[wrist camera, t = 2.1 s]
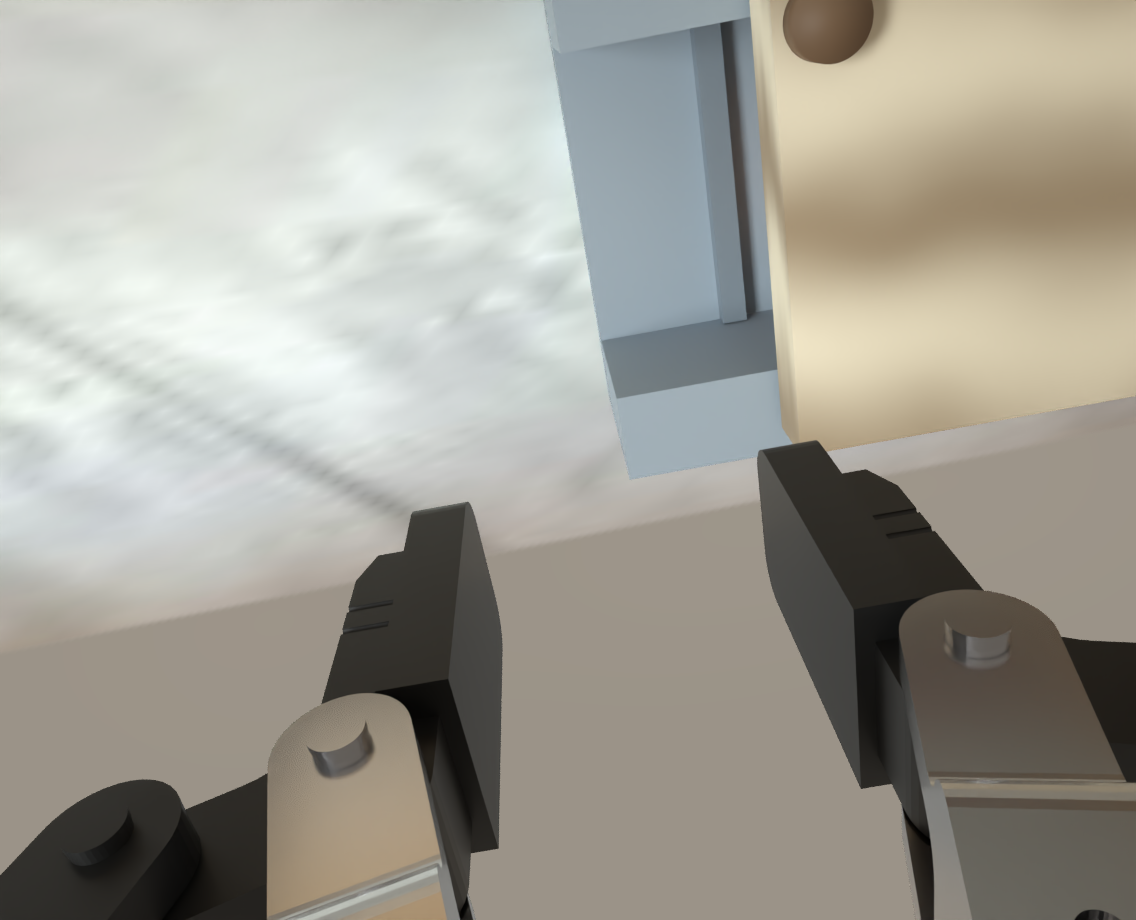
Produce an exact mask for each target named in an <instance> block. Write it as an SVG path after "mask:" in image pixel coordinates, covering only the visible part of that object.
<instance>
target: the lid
mask: <svg viewBox="0 0 1136 920" xmlns="http://www.w3.org/2000/svg"><path fill="white" fill-rule="evenodd" d="M749 3H750V16H751V29H752V43H753V56H754V69H755V82H756V95H757V108H758V121H759V134H760V147H761V160H762V173H763V186H764V199H765V212H766V225H767V238H768V251H769V265H770V278H771V291H772V304H773V317H774V330H775V343H776V356H777V369H778V382H779V395H780V408H781V421H782V428H783V430H784V431H785V433H786V434H787V436H788V437H789V439H790V440H791V442H792V443H793V444H796V443H802V442H807V441H813V440H817V441H818V442H819V443H820V444H821V445H822V447H823V448H824V449H825V451H832V450H837V449H843V448H848V447H854V446H860V445H865V444H871V443H876V442H882V441H888V440H893V439H899V438H904V437H910V436H915V435H921V434H927V433H932V432H938V431H943V430H949V429H955V428H960V427H966V426H971V425H977V424H982V423H988V422H994V421H999V420H1005V419H1010V418H1016V417H1021V416H1027V415H1033V414H1038V413H1044V412H1049V411H1055V410H1061V409H1066V408H1072V407H1077V406H1083V405H1088V404H1094V403H1100V402H1105V401H1111V400H1116V399H1122V398H1128V397H1133V396H1136V0H749Z"/></svg>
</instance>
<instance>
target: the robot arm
mask: <svg viewBox="0 0 1136 920" xmlns="http://www.w3.org/2000/svg"><path fill="white" fill-rule="evenodd" d="M757 467H758V479H759V490H760V501H761V511H762V523H763V533H764V544H765V554H766V562H767V567H768V573H769V577H770V581H771V585H772V589H773V592H774V595H775V598H776V600H777V603H778V605H779V607H780V610H781V612H782V614H783V616H784V618H785V621H786V623H787V625H788V627H789V630H790V632H791V634H792V636H793V639H794V641H795V643H796V645H797V647H798V649H799V652H800V654H801V656H802V658H803V661H804V663H805V665H806V667H807V670H808V672H809V674H810V676H811V679H812V681H813V683H814V685H815V688H816V690H817V692H818V694H819V696H820V698H821V701H822V703H823V705H824V707H825V710H826V712H827V714H828V716H829V719H830V721H831V723H832V725H833V728H834V730H835V732H836V734H837V737H838V739H839V741H840V743H841V745H842V748H843V750H844V752H845V754H846V757H847V759H848V761H849V763H850V766H851V768H852V770H853V772H854V774H855V777H856V779H857V781H858V783H859V786H860V787H861V789H863V788H869V787H875V786H881V785H887V784H892V785H893V787H894V789H895V791H896V793H897V795H898V797H899V800H900V802H901V803H902V804H901V806H902V839H903V845H904V852H905V858H906V864H907V870H908V876H909V882H910V889H911V895H912V901H913V908H914V914H915V920H1136V643H1128V642H1105V641H1089V640H1078V639H1072V638H1066V637H1061V635H1060V633H1059V631H1058V630H1057V628H1056V626H1055V624H1054V623H1053V622H1052V621H1051V620H1050V619H1049V618H1048V617H1047V616H1046V615H1045V614H1044V613H1043V612H1041V611H1040V610H1039V609H1037V608H1035V607H1034V606H1032V605H1030V604H1028V603H1026V602H1024V601H1021V600H1019V599H1017V598H1014V597H1011V596H1008V595H1005V594H1001V593H996V592H991V591H984V590H983V589H982V588H981V587H980V585H979V584H978V583H977V582H976V581H975V579H974V578H973V577H972V576H971V575H970V573H969V572H968V571H967V570H966V568H965V567H964V566H963V565H962V563H961V562H960V561H959V560H958V559H957V557H956V556H955V555H954V554H953V553H952V551H951V550H950V549H949V548H948V546H947V545H946V544H945V543H944V541H943V540H942V539H941V538H940V537H939V536H938V534H937V533H936V532H935V531H933V532H932V529H931V526H930V524H929V523H928V522H927V521H926V520H925V518H924V517H923V516H922V515H921V513H920V512H919V513H917V511H916V507H915V506H914V505H913V504H912V502H911V501H910V500H909V499H908V498H907V496H906V495H905V494H904V493H903V491H902V490H901V489H900V488H899V487H898V486H897V485H896V484H893V483H892V482H890V481H887V480H886V479H884V478H882V477H880V476H878V475H876V474H874V473H872V472H870V471H868V470H866V469H865V470H860V471H854V472H849V473H843V474H842V473H841V472H840V470H839V469H838V467H837V466H836V465H835V463H834V462H833V461H832V459H831V458H830V456H829V455H828V454H827V452H826V451H825V449H824V448H823V447H822V445H821V444H820V443H819V442H818V441H817V440H813V441H807V442H802V443H796V444H790V445H785V446H779V447H774V448H768V449H763V450H759V452H758V457H757ZM501 696H502V633H501V625H500V618H499V612H498V607H497V602H496V598H495V594H494V590H493V586H492V582H491V578H490V574H489V570H488V567H487V563H486V559H485V555H484V551H483V547H482V543H481V539H480V535H479V531H478V527H477V523H476V519H475V516H474V512H473V510H472V507H471V505H470V503H469V502H464V503H459V504H453V505H447V506H442V507H436V508H431V509H425V510H420V511H414V512H413V513H412V515H411V519H410V523H409V528H408V533H407V538H406V543H405V547H404V551H402V552H396V553H391V554H385V555H379V556H378V557H377V558H376V559H375V560H374V561H373V562H372V563H371V565H370V566H369V567H368V568H367V569H366V570H365V571H364V573H363V574H362V575H361V576H360V577H359V578H358V579H357V581H356V583H355V587H354V590H353V594H352V597H351V601H350V605H349V612H348V613H347V615H346V618H345V622H344V625H343V634H342V635H341V636H340V640H339V643H338V647H337V650H336V654H335V657H334V661H333V665H332V668H331V672H330V675H329V679H328V682H327V686H326V689H325V693H324V697H323V700H322V704H321V705H320V706H317V707H315V708H314V709H312V710H310V711H309V712H307V713H305V714H304V715H302V716H301V717H300V718H299V719H297V720H296V721H295V722H293V724H291V725H290V726H289V727H288V728H287V729H286V730H285V731H284V732H283V734H282V735H281V736H280V738H279V739H278V740H277V742H276V743H275V745H274V747H273V749H272V751H271V754H270V757H269V761H268V773H267V774H265V775H264V776H262V777H260V778H259V779H257V780H255V781H252V782H250V783H248V784H246V785H244V786H242V787H239V788H237V789H235V790H232V791H229V792H227V793H225V794H222V795H220V796H217V797H215V798H213V799H210V800H208V801H205V802H203V803H200V804H198V805H196V806H193V807H191V808H188V809H186V810H185V808H184V806H183V804H182V802H181V800H180V798H179V796H178V794H177V792H176V791H175V790H174V789H173V788H172V787H171V786H170V785H168V784H166V783H164V782H160V781H156V780H134V781H128V782H124V783H119V784H116V785H113V786H110V787H107V788H105V789H102V790H100V791H98V792H96V793H93V794H92V795H90V796H88V797H86V798H84V799H82V800H81V801H79V802H77V803H76V804H74V805H73V806H71V807H70V808H68V809H67V810H65V811H64V812H63V813H62V814H60V815H59V816H58V817H57V818H56V819H55V820H53V821H52V822H51V823H50V824H49V825H48V826H47V827H46V828H45V829H44V830H43V831H42V832H41V833H40V834H39V835H38V836H37V837H36V838H35V839H34V841H32V842H31V843H30V845H29V846H28V847H27V848H26V849H25V850H24V851H23V852H22V853H21V854H20V855H19V856H18V857H17V858H16V859H15V861H14V862H13V863H12V864H11V865H10V866H9V867H8V868H7V869H6V870H5V871H4V872H3V873H2V874H1V875H0V920H476V918H475V914H474V910H473V907H472V904H471V900H470V897H469V894H468V888H469V874H470V857H471V853H475V852H481V851H487V850H493V849H498V848H499V798H500V797H499V796H500V747H501V743H500V742H501Z"/></svg>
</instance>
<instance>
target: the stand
mask: <svg viewBox="0 0 1136 920" xmlns="http://www.w3.org/2000/svg"><path fill="white" fill-rule="evenodd" d="M544 6H545V12H546V18H547V24H548V30H549V36H550V42H551V48H552V54H553V60H554V66H555V72H556V78H557V84H558V90H559V96H560V102H561V108H562V114H563V120H564V126H565V132H566V138H567V144H568V150H569V156H570V162H571V168H572V174H573V180H574V186H575V192H576V198H577V204H578V210H579V216H580V222H581V228H582V234H583V240H584V246H585V252H586V258H587V264H588V270H589V276H590V282H591V288H592V294H593V300H594V306H595V312H596V318H597V324H598V330H599V336H600V342H601V348H602V354H603V360H604V366H605V372H606V378H607V384H608V390H609V396H610V402H611V406H612V410H613V414H614V418H615V422H616V426H617V430H618V434H619V438H620V442H621V446H622V450H623V454H624V458H625V462H626V466H627V470H628V474H629V478H630V480H631V479H636V478H642V477H648V476H653V475H659V474H664V473H670V472H675V471H681V470H687V469H692V468H698V467H703V466H709V465H714V464H720V463H726V462H731V461H737V460H742V459H748V458H753V457H758V452H759V450H763V449H768V448H774V447H779V446H785V445H790V444H793V443H792V442H791V440H790V439H789V437H788V436H787V434H786V433H785V431H784V430H783V428H782V421H781V408H780V395H779V382H778V369H777V356H776V343H775V330H774V317H773V304H772V291H771V278H770V265H769V251H768V238H767V225H766V212H765V199H764V186H763V173H762V160H761V147H760V134H759V121H758V108H757V95H756V82H755V69H754V56H753V43H752V29H751V16H750V3H749V0H544Z"/></svg>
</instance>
